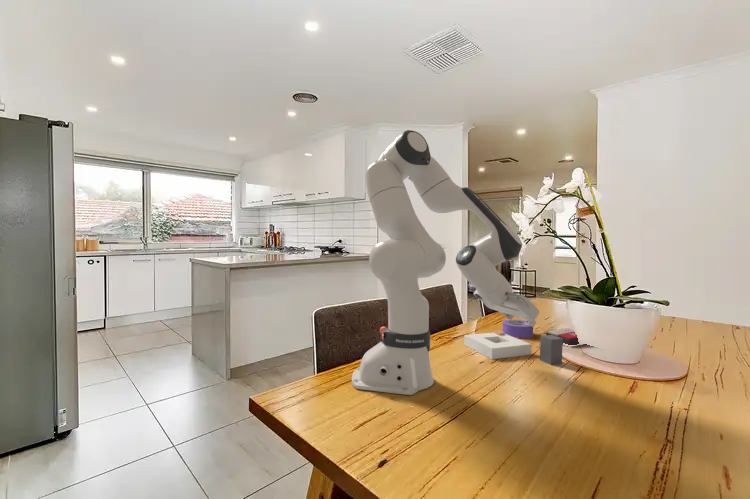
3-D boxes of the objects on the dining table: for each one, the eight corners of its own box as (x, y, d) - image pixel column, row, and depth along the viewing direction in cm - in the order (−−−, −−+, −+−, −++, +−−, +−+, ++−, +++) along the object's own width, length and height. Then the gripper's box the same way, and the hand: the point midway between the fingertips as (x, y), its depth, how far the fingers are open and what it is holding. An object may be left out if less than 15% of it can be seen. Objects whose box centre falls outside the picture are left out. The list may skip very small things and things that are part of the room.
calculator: (545, 330, 137) (573, 325, 142) (545, 341, 137) (573, 336, 142) (569, 338, 127) (598, 332, 132) (569, 349, 127) (599, 343, 132)
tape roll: (513, 339, 136) (513, 326, 136) (496, 331, 148) (497, 319, 148) (539, 338, 139) (539, 325, 139) (521, 330, 150) (521, 318, 150)
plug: (550, 365, 109) (551, 339, 108) (539, 360, 113) (540, 335, 113) (561, 363, 110) (562, 338, 110) (550, 358, 114) (551, 334, 114)
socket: (491, 359, 113) (492, 346, 113) (464, 344, 128) (464, 333, 128) (531, 354, 118) (531, 341, 118) (500, 341, 133) (500, 329, 133)
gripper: (527, 287, 95) (554, 320, 98) (481, 279, 114) (505, 307, 118) (514, 304, 94) (541, 337, 97) (470, 293, 113) (494, 321, 116)
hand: (521, 320), depth 108 cm, fingers open, 8 cm apart
